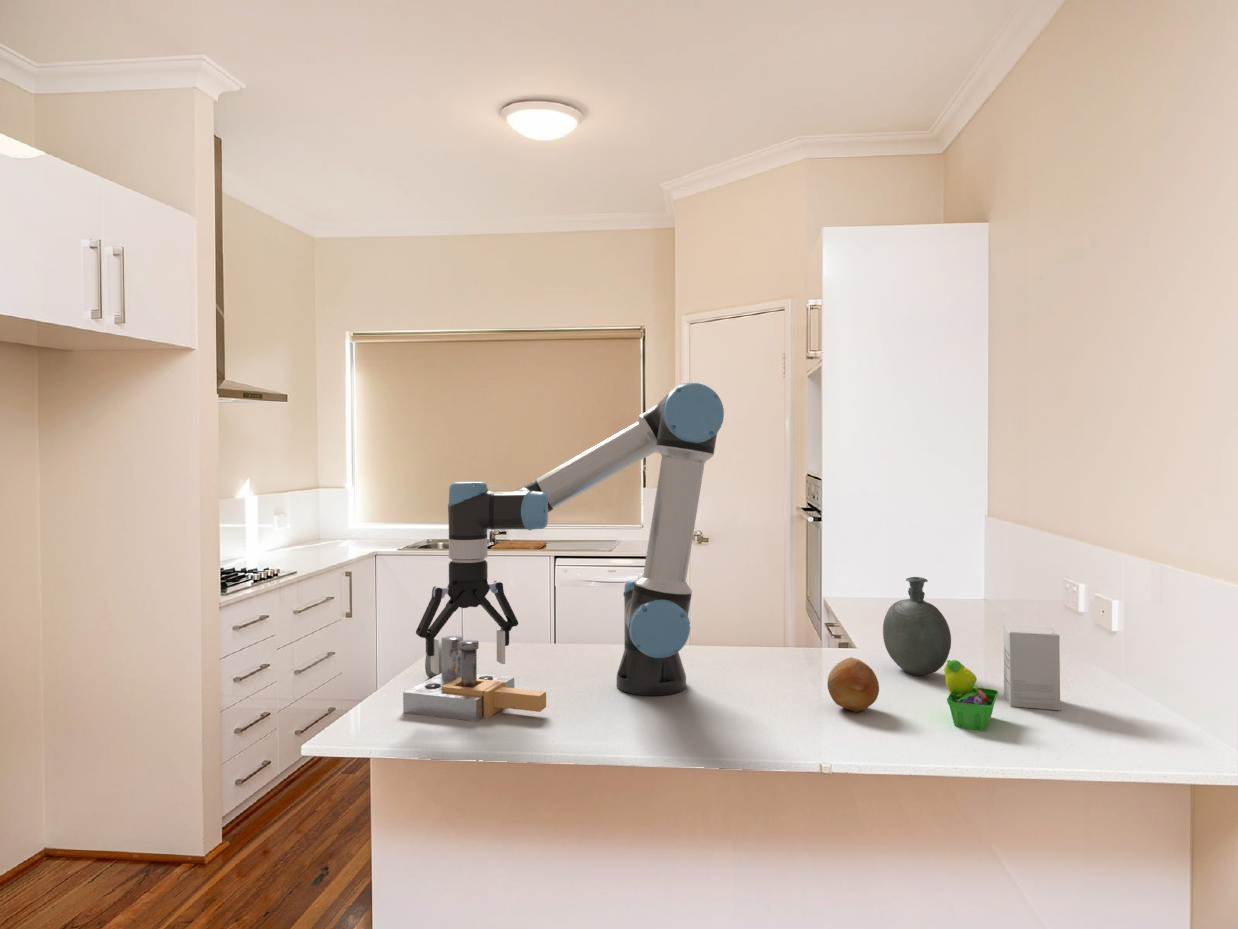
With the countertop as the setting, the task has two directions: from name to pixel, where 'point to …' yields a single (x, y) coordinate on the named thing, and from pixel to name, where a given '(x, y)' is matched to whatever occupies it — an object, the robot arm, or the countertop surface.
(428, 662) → the ceramic mug
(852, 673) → the onion
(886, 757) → the countertop surface
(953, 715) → the fruit basket
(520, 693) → the bracket
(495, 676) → the grey latch block
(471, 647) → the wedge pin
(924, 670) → the flask
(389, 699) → the countertop surface
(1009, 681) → the supplement box
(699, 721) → the countertop surface
